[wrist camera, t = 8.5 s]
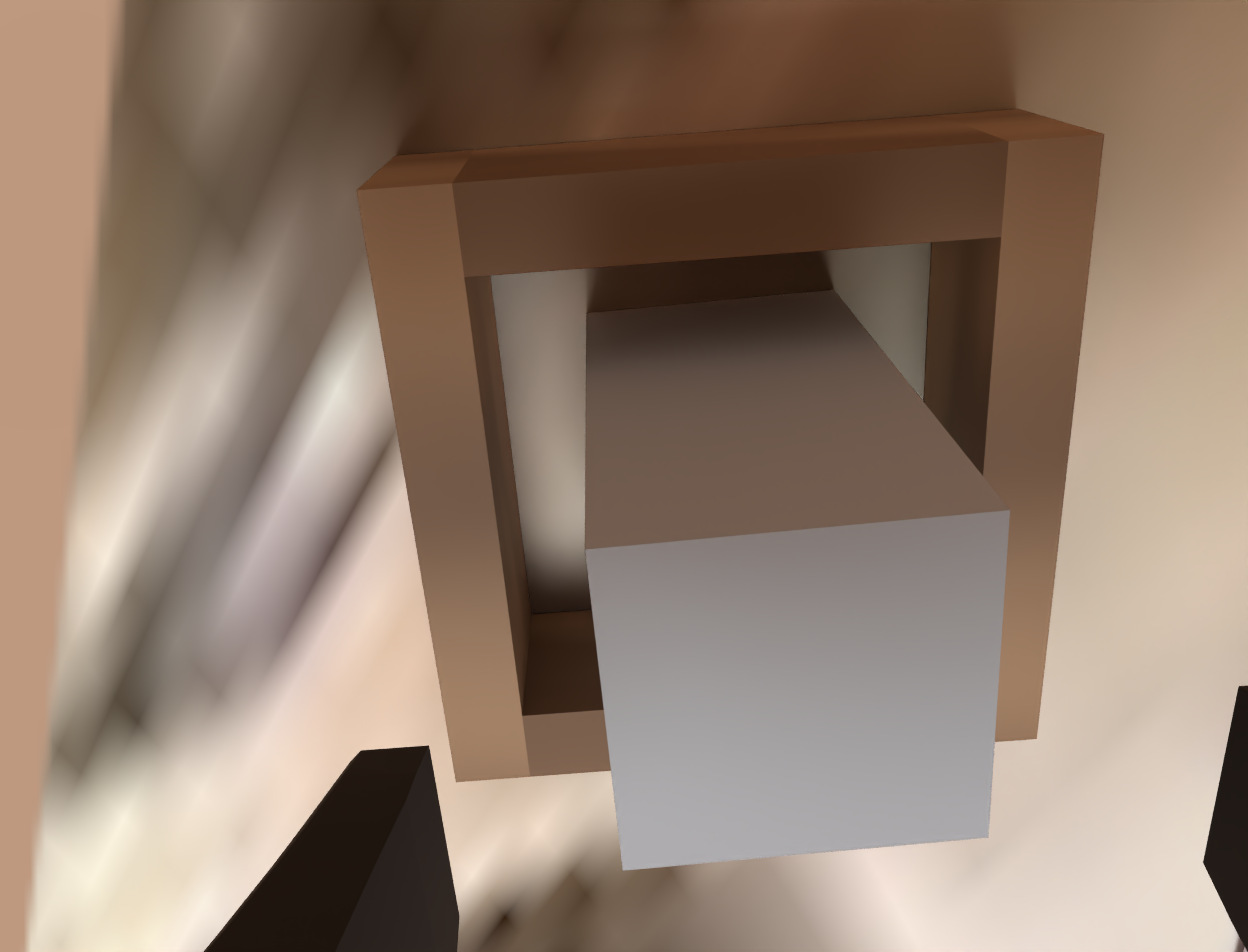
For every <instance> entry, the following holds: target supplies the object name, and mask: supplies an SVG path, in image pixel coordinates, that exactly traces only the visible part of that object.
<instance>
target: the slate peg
mask: <svg viewBox="0 0 1248 952" xmlns="http://www.w3.org/2000/svg"><path fill="white" fill-rule="evenodd" d="M1009 518H1010V509H1009V508H1008V507H1007V506H1006V504H1005V503H1004V502H1003V501H1002V499H1001V498H1000V497H999V496H998V494H997V493H996V492H995V491H994V489H993V488H992V487H991V486H990V484H989V483H988V482H987V481H986V479H985V478H984V477H983V476H982V474H981V473H980V472H979V471H978V469H977V468H976V467H975V466H974V464H973V463H972V462H971V461H970V459H969V458H968V457H967V456H966V454H965V453H964V452H963V451H962V449H961V448H960V447H959V446H958V444H957V443H956V442H955V441H954V439H953V438H952V437H951V436H950V434H949V433H948V432H947V431H946V429H945V428H944V427H943V426H942V424H941V423H940V422H939V421H938V419H937V418H936V417H935V416H934V414H933V413H932V412H931V411H930V409H929V408H928V407H927V406H926V404H925V403H924V402H923V401H922V399H921V398H920V397H919V396H918V394H917V393H916V392H915V391H914V389H913V388H912V387H911V386H910V384H909V383H908V382H907V381H906V379H905V378H904V377H903V376H902V374H901V373H900V372H899V371H898V369H897V368H896V367H895V366H894V364H893V363H892V362H891V361H890V359H889V358H888V357H887V356H886V354H885V353H884V352H883V351H882V349H881V348H880V347H879V346H878V344H877V343H876V342H875V341H874V339H873V338H872V337H871V336H870V334H869V333H868V332H867V331H866V329H865V328H864V327H863V326H862V324H861V323H860V322H859V320H858V319H857V318H856V317H855V315H854V314H853V313H852V312H851V310H850V309H849V308H848V307H847V305H846V304H845V303H844V302H843V300H842V299H841V298H840V297H839V295H838V294H837V293H836V292H835V290H825V291H815V292H804V293H794V294H783V295H773V296H762V297H752V298H741V299H731V300H720V301H710V302H699V303H689V304H678V305H668V306H657V307H647V308H636V309H626V310H615V311H605V312H595V313H586V452H585V555H586V563H587V572H588V580H589V589H590V597H591V606H592V614H593V622H594V631H595V639H596V648H597V656H598V665H599V673H600V681H601V690H602V698H603V707H604V715H605V723H606V732H607V740H608V749H609V757H610V766H611V774H612V782H613V791H614V799H615V808H616V816H617V825H618V833H619V841H620V850H621V858H622V867H623V870H634V869H645V868H656V867H667V866H678V865H689V864H700V863H712V862H723V861H734V860H745V859H756V858H767V857H778V856H789V855H800V854H811V853H822V852H834V851H845V850H856V849H867V848H878V847H889V846H900V845H911V844H922V843H933V842H944V841H955V840H967V839H978V838H988V835H989V820H990V805H991V790H992V775H993V759H994V744H995V729H996V714H997V699H998V684H999V669H1000V654H1001V639H1002V624H1003V609H1004V594H1005V578H1006V563H1007V548H1008V533H1009Z"/></svg>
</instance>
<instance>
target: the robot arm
mask: <svg viewBox="0 0 1248 952" xmlns="http://www.w3.org/2000/svg"><path fill="white" fill-rule="evenodd" d="M1203 863H1204V865H1205V867H1206V870H1207V872H1208V874H1209V876H1210V878H1211V880H1212V882H1213V884H1214V886H1215V888H1216V890H1217V892H1218V894H1219V897H1220V899H1221V901H1222V903H1223V905H1224V907H1225V909H1226V911H1227V913H1228V915H1229V917H1230V919H1231V921H1232V923H1233V925H1234V927H1235V929H1236V931H1237V933H1238V935H1239V937H1240V939H1241V941H1242V942H1243V944H1244V946H1245V947H1244V951H1243V952H1248V686H1239V688H1238V692H1237V697H1236V702H1235V707H1234V712H1233V717H1232V722H1231V727H1230V732H1229V737H1228V742H1227V747H1226V752H1225V757H1224V762H1223V767H1222V772H1221V777H1220V782H1219V787H1218V792H1217V797H1216V801H1215V806H1214V811H1213V816H1212V821H1211V826H1210V831H1209V836H1208V841H1207V846H1206V851H1205V856H1204V861H1203ZM458 929H459V912H458V906H457V901H456V895H455V889H454V884H453V878H452V873H451V867H450V861H449V856H448V850H447V844H446V839H445V833H444V828H443V822H442V816H441V811H440V805H439V800H438V794H437V788H436V783H435V777H434V771H433V766H432V760H431V755H430V749H429V746H417V747H403V748H390V749H376V750H362V751H360V752H359V753H358V754H357V755H356V756H355V758H354V759H353V760H352V761H351V762H350V763H349V765H348V766H347V767H346V769H345V770H344V771H343V773H342V774H341V775H340V777H339V778H338V779H337V781H336V782H335V783H334V785H333V786H332V787H331V789H330V790H329V791H328V793H327V794H326V796H325V797H324V798H323V800H322V801H321V802H320V804H319V805H318V806H317V808H316V809H315V810H314V812H313V813H312V814H311V816H310V817H309V818H308V820H307V821H306V822H305V824H304V825H303V827H302V828H301V829H300V831H299V832H298V833H297V834H296V836H295V837H294V838H293V840H292V841H291V842H290V844H289V845H288V846H287V848H286V849H285V850H284V852H283V853H282V854H281V856H280V857H279V858H278V859H277V861H276V862H275V863H274V865H273V866H272V867H271V869H270V870H269V871H268V872H267V874H266V875H265V876H264V877H263V879H262V880H261V881H260V882H259V884H258V885H257V886H256V887H255V889H254V890H253V891H252V892H251V894H250V895H249V896H248V897H247V899H246V900H245V901H244V902H243V904H242V905H241V906H240V907H239V909H238V910H237V911H236V912H235V914H234V915H233V916H232V917H231V919H230V920H229V921H228V922H227V924H226V925H225V926H224V927H223V929H222V930H221V931H220V932H219V934H218V935H217V936H216V937H215V939H214V940H213V941H212V942H211V943H210V945H209V946H208V947H207V948H206V949H205V951H204V952H457V943H458Z"/></svg>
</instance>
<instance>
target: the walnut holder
mask: <svg viewBox="0 0 1248 952" xmlns="http://www.w3.org/2000/svg"><path fill="white" fill-rule="evenodd" d="M1103 140H1104V134H1102V133H1098V132H1095V131H1092V130H1088V129H1085V128H1081V127H1078V126H1075V125H1071V124H1068V123H1064V122H1061V121H1058V120H1054V119H1051V118H1047V117H1044V116H1040V115H1037V114H1034V113H1030V112H1027V111H1023V110H1020V109H1009V110H996V111H982V112H969V113H956V114H943V115H929V116H916V117H903V118H889V119H876V120H863V121H850V122H836V123H823V124H810V125H796V126H783V127H770V128H756V129H743V130H730V131H717V132H703V133H690V134H677V135H663V136H650V137H637V138H624V139H610V140H597V141H584V142H570V143H557V144H544V145H530V146H517V147H504V148H491V149H477V150H464V151H451V152H437V153H424V154H411V155H398V156H394V157H393V158H392V159H391V160H390V161H389V162H388V163H387V164H385V165H384V166H383V167H382V168H381V169H380V170H379V171H378V172H376V173H375V174H374V175H373V176H372V177H371V178H370V179H369V180H368V181H366V182H365V183H364V184H363V185H362V186H361V187H360V188H359V189H357V190H356V191H357V196H358V202H359V208H360V214H361V220H362V226H363V232H364V238H365V244H366V250H367V256H368V262H369V268H370V274H371V280H372V286H373V292H374V297H375V303H376V309H377V315H378V321H379V327H380V333H381V339H382V345H383V351H384V357H385V363H386V369H387V375H388V381H389V387H390V393H391V399H392V404H393V410H394V416H395V422H396V428H397V434H398V440H399V446H400V452H401V458H402V464H403V470H404V476H405V482H406V488H407V494H408V500H409V505H410V511H411V517H412V523H413V529H414V535H415V541H416V547H417V553H418V559H419V565H420V571H421V577H422V583H423V589H424V595H425V601H426V607H427V612H428V618H429V624H430V630H431V636H432V642H433V648H434V654H435V660H436V666H437V672H438V678H439V684H440V690H441V696H442V702H443V708H444V714H445V719H446V725H447V731H448V737H449V743H450V749H451V755H452V761H453V767H454V773H455V779H456V782H464V781H478V780H491V779H504V778H518V777H531V776H545V775H558V774H571V773H585V772H598V771H611V766H610V757H609V749H608V740H607V732H606V723H605V715H604V707H603V698H602V690H601V681H600V673H599V665H598V656H597V648H596V639H595V631H594V622H593V614H592V610H585V611H572V612H558V613H545V614H532V615H531V608H530V600H529V592H528V583H527V575H526V567H525V559H524V551H523V542H522V534H521V526H520V518H519V509H518V501H517V493H516V485H515V477H514V468H513V460H512V452H511V444H510V436H509V427H508V419H507V411H506V403H505V395H504V386H503V378H502V370H501V362H500V353H499V345H498V337H497V329H496V321H495V312H494V304H493V296H492V288H491V280H490V275H502V274H515V273H528V272H542V271H555V270H568V269H582V268H595V267H608V266H622V265H635V264H648V263H662V262H675V261H688V260H702V259H715V258H728V257H742V256H755V255H768V254H782V253H795V252H808V251H821V250H835V249H848V248H861V247H875V246H888V245H901V244H915V243H928V242H932V250H931V270H930V290H929V310H928V330H927V350H926V370H925V390H924V403H925V404H926V406H927V407H928V408H929V409H930V411H931V412H932V413H933V414H934V416H935V417H936V418H937V419H938V421H939V422H940V423H941V424H942V426H943V427H944V428H945V429H946V431H947V432H948V433H949V434H950V436H951V437H952V438H953V439H954V441H955V442H956V443H957V444H958V446H959V447H960V448H961V449H962V451H963V452H964V453H965V454H966V456H967V457H968V458H969V459H970V461H971V462H972V463H973V464H974V466H975V467H976V468H977V469H978V471H979V472H980V473H981V474H982V476H983V477H984V478H985V479H986V481H987V482H988V483H989V484H990V486H991V487H992V488H993V489H994V491H995V492H996V493H997V494H998V496H999V497H1000V498H1001V499H1002V501H1003V502H1004V503H1005V504H1006V506H1007V507H1008V508H1009V509H1010V518H1009V533H1008V548H1007V563H1006V578H1005V594H1004V609H1003V624H1002V639H1001V654H1000V669H999V684H998V699H997V714H996V729H995V742H1000V741H1014V740H1027V739H1037V731H1038V722H1039V713H1040V704H1041V695H1042V686H1043V677H1044V669H1045V660H1046V651H1047V642H1048V633H1049V624H1050V615H1051V606H1052V597H1053V588H1054V579H1055V570H1056V561H1057V552H1058V543H1059V534H1060V525H1061V516H1062V507H1063V498H1064V490H1065V481H1066V472H1067V463H1068V454H1069V445H1070V436H1071V427H1072V418H1073V409H1074V400H1075V391H1076V382H1077V373H1078V364H1079V355H1080V346H1081V337H1082V328H1083V319H1084V311H1085V302H1086V293H1087V284H1088V275H1089V266H1090V257H1091V248H1092V239H1093V230H1094V221H1095V212H1096V203H1097V194H1098V185H1099V176H1100V167H1101V158H1102V149H1103Z"/></svg>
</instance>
